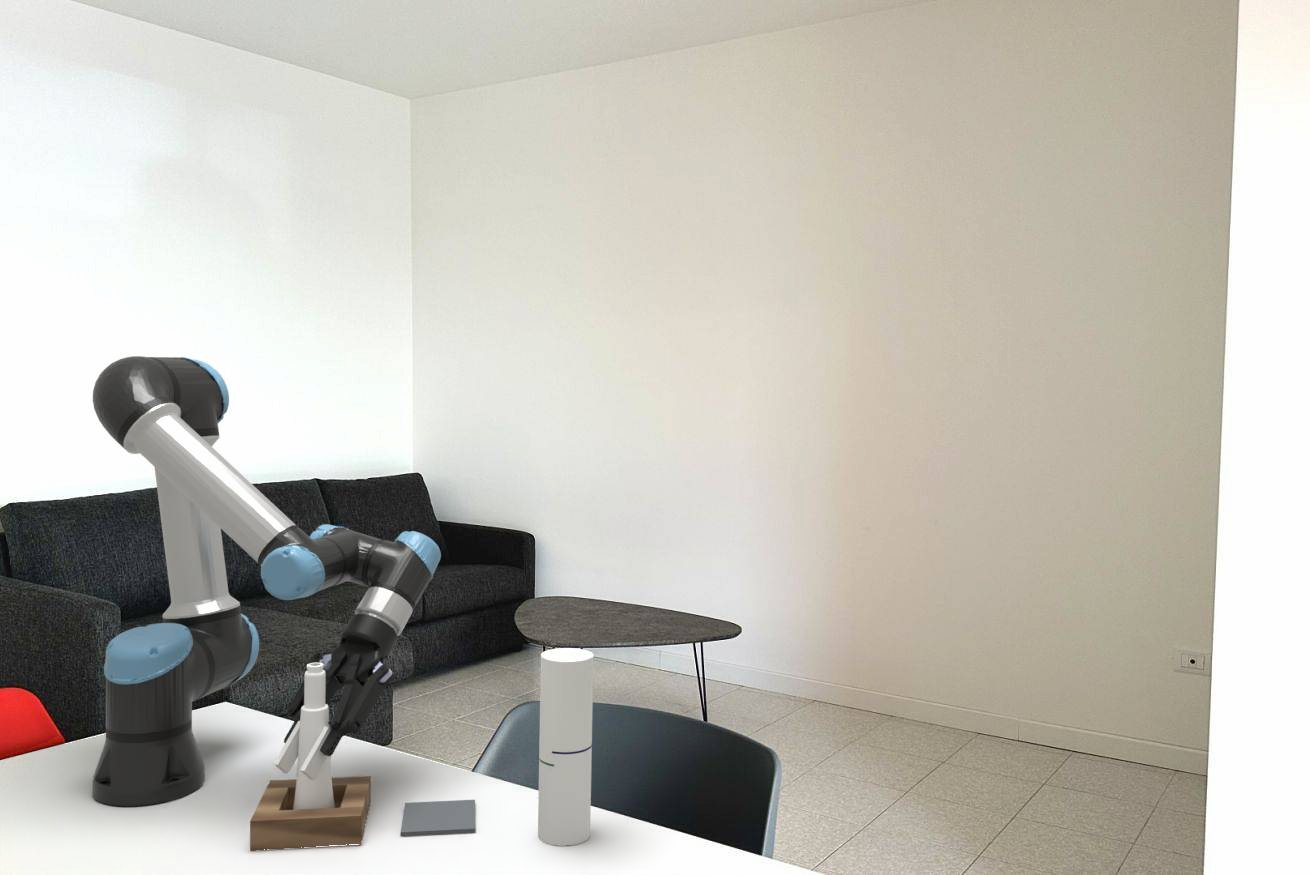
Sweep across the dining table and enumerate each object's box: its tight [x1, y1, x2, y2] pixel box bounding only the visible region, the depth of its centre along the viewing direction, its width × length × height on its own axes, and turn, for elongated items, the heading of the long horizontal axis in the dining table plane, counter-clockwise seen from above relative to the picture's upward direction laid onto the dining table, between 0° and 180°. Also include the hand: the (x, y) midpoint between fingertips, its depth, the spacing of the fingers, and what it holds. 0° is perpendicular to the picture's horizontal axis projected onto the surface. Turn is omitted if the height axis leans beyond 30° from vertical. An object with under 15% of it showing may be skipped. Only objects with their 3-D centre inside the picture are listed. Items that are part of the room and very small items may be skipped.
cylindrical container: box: [537, 647, 594, 847], centre depth 144 cm, size 7×7×25 cm
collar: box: [249, 775, 372, 852], centre depth 146 cm, size 14×14×4 cm
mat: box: [399, 799, 476, 837], centre depth 149 cm, size 10×10×1 cm
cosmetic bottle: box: [293, 662, 335, 810], centre depth 145 cm, size 6×6×22 cm
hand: (294, 771), depth 142 cm, fingers closed on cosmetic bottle, 4 cm apart
